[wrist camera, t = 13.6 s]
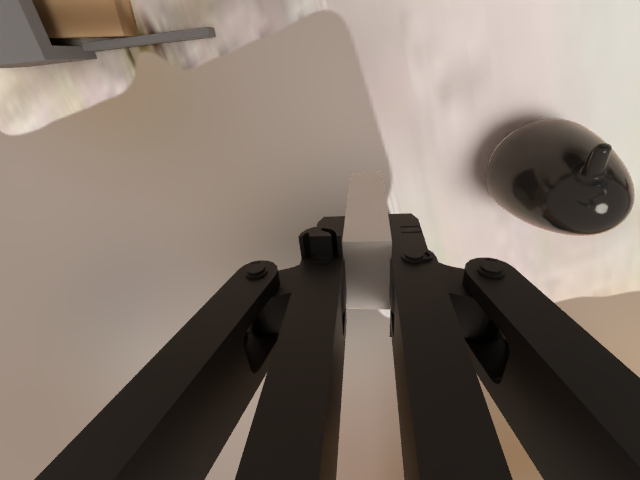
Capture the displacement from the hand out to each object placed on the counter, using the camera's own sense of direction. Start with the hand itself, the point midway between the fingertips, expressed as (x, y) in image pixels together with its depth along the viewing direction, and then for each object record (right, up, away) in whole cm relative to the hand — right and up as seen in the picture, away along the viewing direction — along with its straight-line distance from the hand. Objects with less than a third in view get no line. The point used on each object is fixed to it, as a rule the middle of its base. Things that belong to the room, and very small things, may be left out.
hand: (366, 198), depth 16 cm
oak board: (-29, +23, +20) cm, 42 cm away
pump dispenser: (+21, +8, +21) cm, 31 cm away
